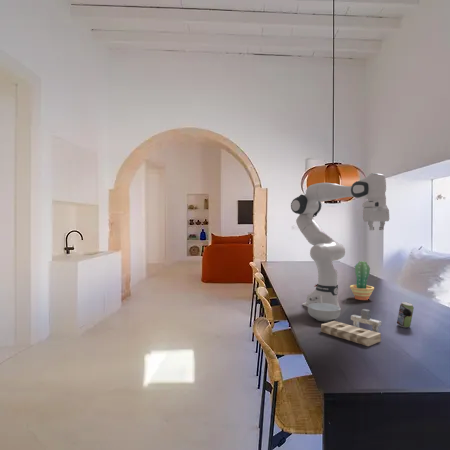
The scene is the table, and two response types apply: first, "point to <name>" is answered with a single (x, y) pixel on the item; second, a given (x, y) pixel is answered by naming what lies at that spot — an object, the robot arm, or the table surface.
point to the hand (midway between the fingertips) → (376, 230)
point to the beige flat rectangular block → (351, 333)
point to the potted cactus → (362, 282)
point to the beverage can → (405, 314)
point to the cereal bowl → (324, 311)
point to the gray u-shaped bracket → (366, 320)
